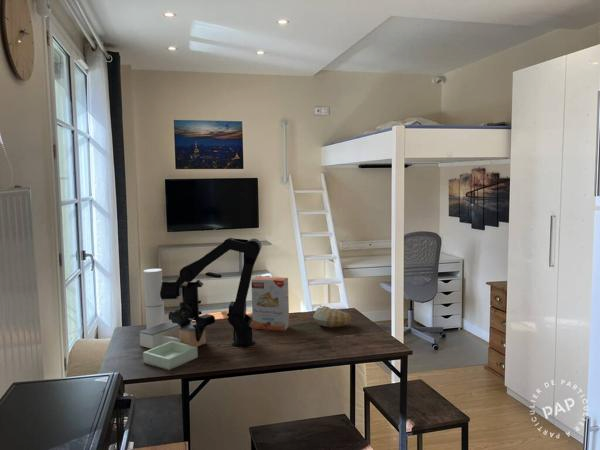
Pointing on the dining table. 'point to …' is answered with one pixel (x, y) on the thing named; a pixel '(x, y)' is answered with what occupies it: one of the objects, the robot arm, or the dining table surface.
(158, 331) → the grey forked piece
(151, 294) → the cylindrical container
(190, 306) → the robot arm
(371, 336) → the dining table surface
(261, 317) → the cracker box
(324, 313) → the nautilus
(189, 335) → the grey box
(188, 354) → the tray
